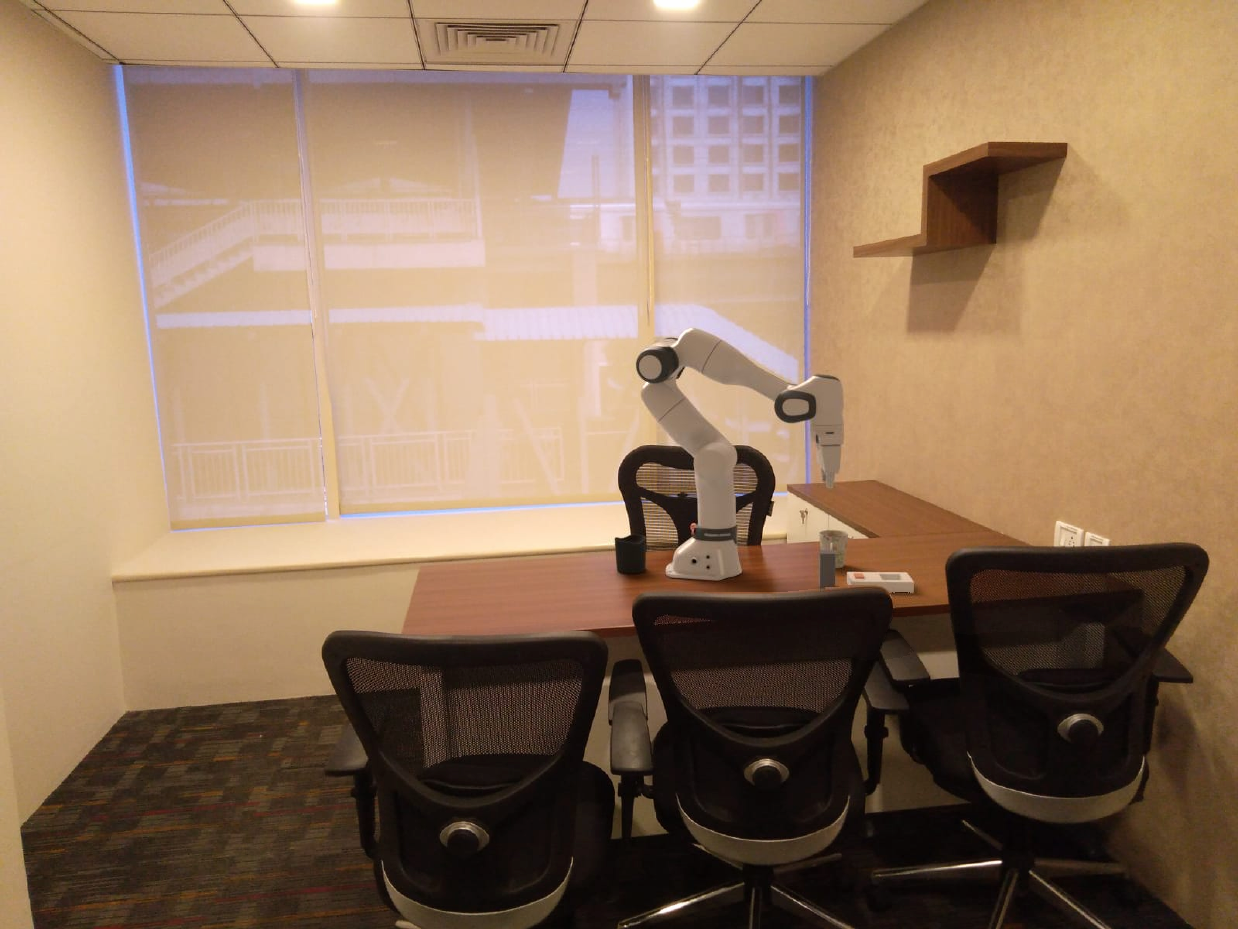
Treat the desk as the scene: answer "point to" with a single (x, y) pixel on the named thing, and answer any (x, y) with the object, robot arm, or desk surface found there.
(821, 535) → the mug
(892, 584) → the power strip
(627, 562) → the pen holder
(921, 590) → the desk surface
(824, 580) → the plug
